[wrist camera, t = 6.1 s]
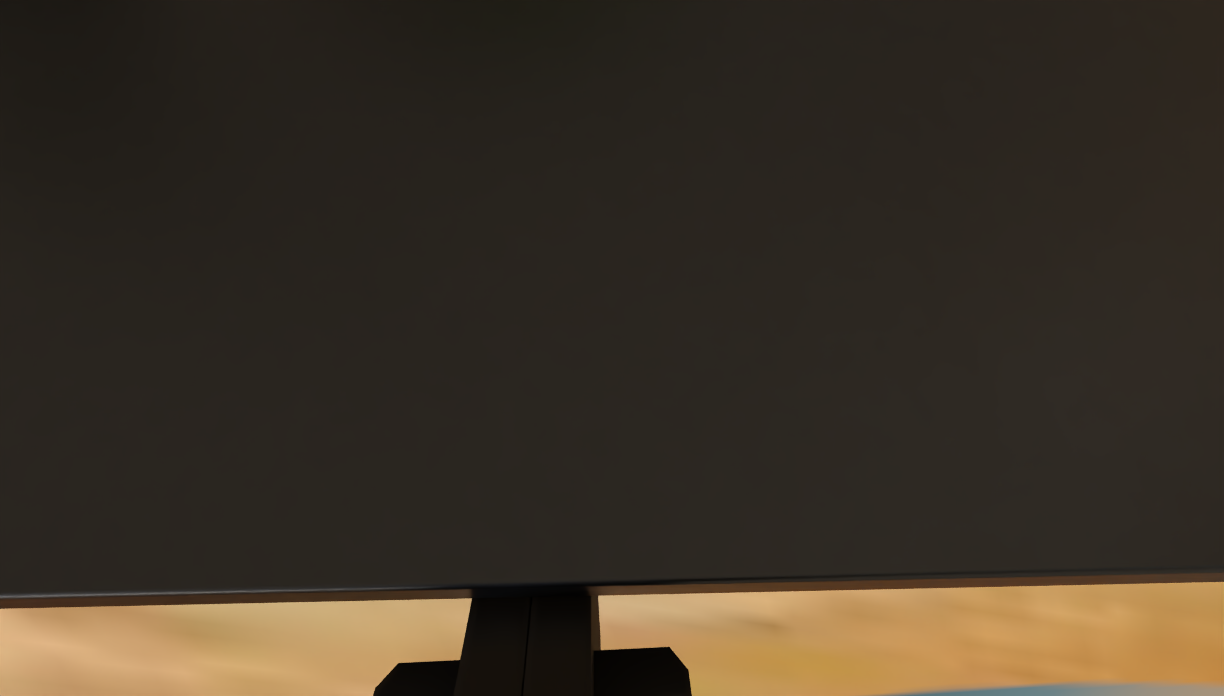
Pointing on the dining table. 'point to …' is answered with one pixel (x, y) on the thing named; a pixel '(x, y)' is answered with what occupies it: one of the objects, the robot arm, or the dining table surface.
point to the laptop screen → (607, 297)
